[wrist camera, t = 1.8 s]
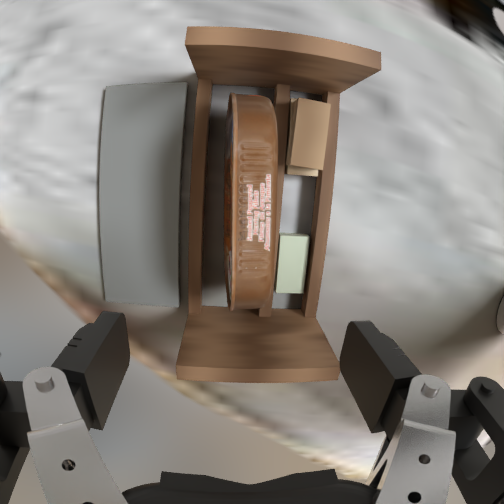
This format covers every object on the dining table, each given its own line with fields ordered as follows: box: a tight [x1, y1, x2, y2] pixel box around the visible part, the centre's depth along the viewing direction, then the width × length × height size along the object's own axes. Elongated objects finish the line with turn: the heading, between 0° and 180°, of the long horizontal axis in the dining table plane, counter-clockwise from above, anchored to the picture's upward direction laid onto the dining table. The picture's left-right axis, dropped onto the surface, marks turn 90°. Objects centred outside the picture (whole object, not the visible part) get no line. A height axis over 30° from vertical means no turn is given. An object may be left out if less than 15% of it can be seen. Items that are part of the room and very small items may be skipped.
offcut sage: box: [274, 233, 309, 293], centre depth 26 cm, size 2×5×1 cm, turn 177°
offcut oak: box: [286, 98, 331, 170], centre depth 21 cm, size 2×5×2 cm, turn 173°
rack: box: [176, 27, 381, 383], centre depth 21 cm, size 11×21×9 cm, turn 176°
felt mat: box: [99, 82, 188, 307], centre depth 24 cm, size 7×19×1 cm, turn 176°
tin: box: [224, 93, 278, 311], centre depth 21 cm, size 15×3×8 cm, turn 179°
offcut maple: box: [284, 98, 318, 176], centre depth 23 cm, size 2×6×2 cm, turn 177°
